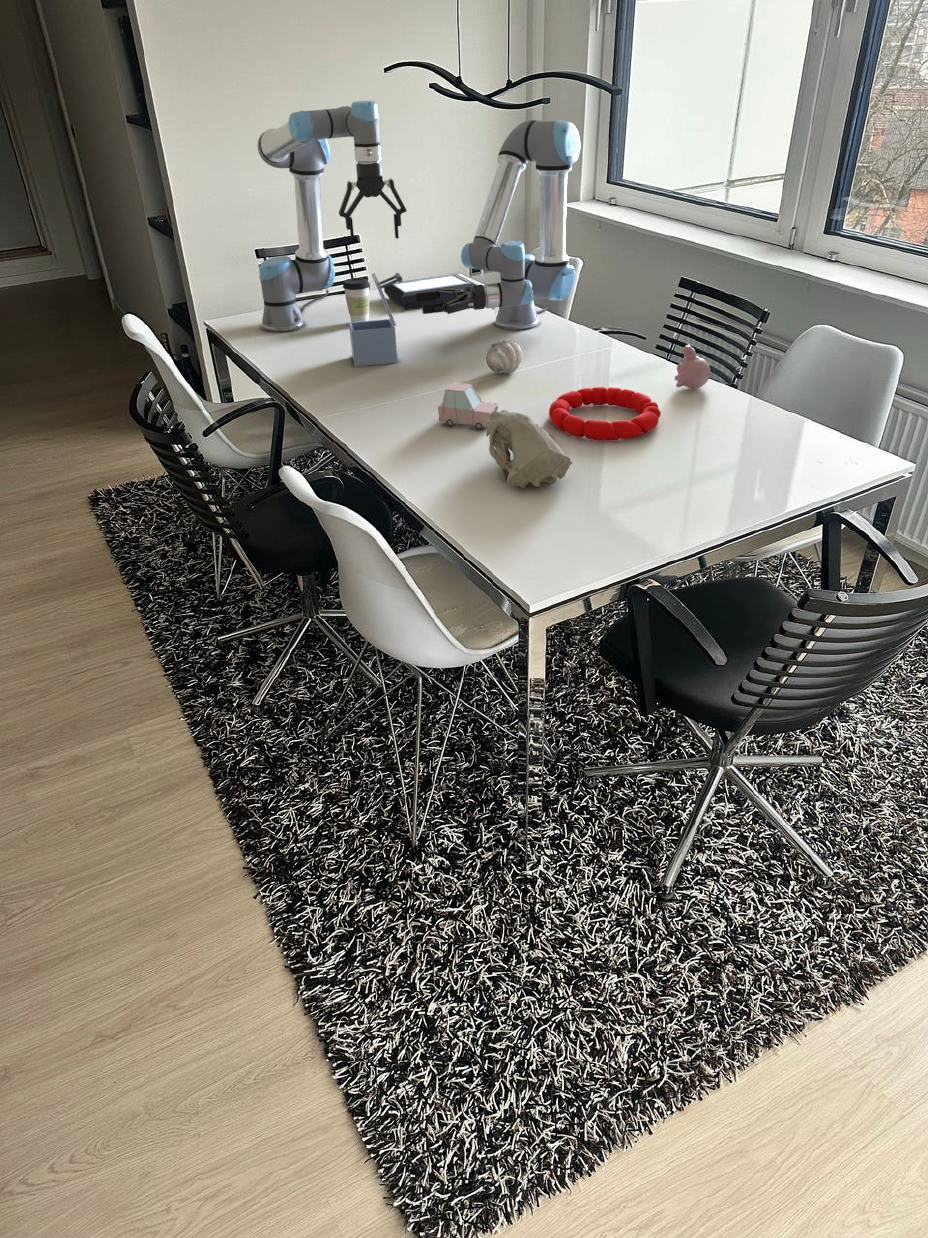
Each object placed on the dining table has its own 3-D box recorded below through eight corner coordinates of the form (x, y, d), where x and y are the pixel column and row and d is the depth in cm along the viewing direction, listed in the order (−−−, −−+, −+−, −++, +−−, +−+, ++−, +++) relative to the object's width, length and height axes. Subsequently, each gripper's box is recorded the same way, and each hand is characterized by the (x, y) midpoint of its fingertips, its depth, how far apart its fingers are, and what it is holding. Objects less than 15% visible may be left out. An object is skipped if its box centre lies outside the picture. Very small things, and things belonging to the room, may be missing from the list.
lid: (375, 281, 274) (399, 270, 274) (371, 273, 283) (395, 263, 282) (393, 326, 283) (417, 316, 283) (389, 317, 291) (412, 307, 291)
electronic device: (401, 294, 334) (383, 282, 349) (402, 311, 338) (384, 299, 353) (478, 283, 345) (457, 272, 360) (478, 299, 348) (458, 288, 363)
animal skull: (496, 517, 219) (521, 479, 201) (463, 429, 225) (484, 384, 207) (557, 503, 225) (586, 465, 206) (523, 417, 231) (549, 373, 212)
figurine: (665, 387, 264) (669, 347, 257) (693, 380, 268) (698, 340, 261) (686, 396, 257) (690, 355, 250) (714, 388, 262) (720, 348, 255)
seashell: (476, 372, 280) (475, 340, 274) (517, 363, 285) (517, 332, 280) (493, 381, 272) (492, 349, 266) (534, 372, 278) (534, 340, 272)
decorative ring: (589, 435, 224) (684, 402, 234) (527, 398, 247) (617, 369, 256) (589, 461, 229) (683, 427, 238) (529, 422, 251) (617, 393, 260)
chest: (355, 366, 288) (351, 331, 281) (352, 356, 296) (348, 322, 290) (397, 362, 290) (394, 327, 283) (393, 352, 298) (391, 318, 292)
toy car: (488, 432, 240) (488, 396, 234) (436, 426, 244) (434, 390, 239) (499, 419, 247) (499, 384, 241) (448, 413, 252) (447, 379, 246)
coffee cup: (372, 326, 323) (368, 283, 314) (345, 327, 323) (340, 284, 315) (374, 318, 331) (371, 276, 322) (348, 319, 331) (344, 277, 323)
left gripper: (326, 166, 256) (334, 244, 268) (412, 161, 259) (416, 238, 271) (325, 162, 262) (333, 239, 274) (409, 157, 265) (413, 233, 277)
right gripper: (492, 319, 280) (426, 326, 277) (476, 297, 300) (414, 303, 297) (492, 295, 276) (424, 302, 273) (476, 274, 296) (413, 280, 293)
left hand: (374, 239), depth 272 cm, fingers open, 13 cm apart
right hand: (419, 303), depth 285 cm, fingers open, 13 cm apart
